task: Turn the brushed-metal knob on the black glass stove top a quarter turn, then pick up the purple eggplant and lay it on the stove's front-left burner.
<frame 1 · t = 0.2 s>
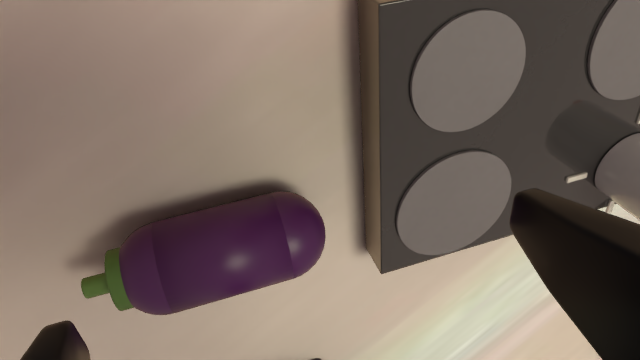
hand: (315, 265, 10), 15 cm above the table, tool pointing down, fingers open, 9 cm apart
burners: (547, 124, 26), on the stove, point 3 cm above the table
stove: (521, 103, 28), on the table
eggplant: (218, 223, 26), on the table
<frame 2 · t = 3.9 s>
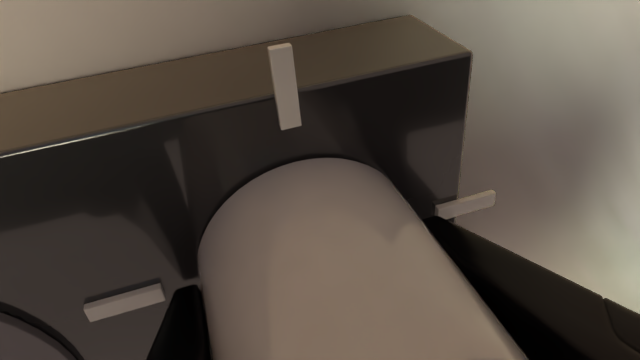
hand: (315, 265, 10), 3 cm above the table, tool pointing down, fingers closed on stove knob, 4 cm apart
stove knob: (348, 344, 8), point 5 cm above the table, hinge at 0.0°, touching gripper
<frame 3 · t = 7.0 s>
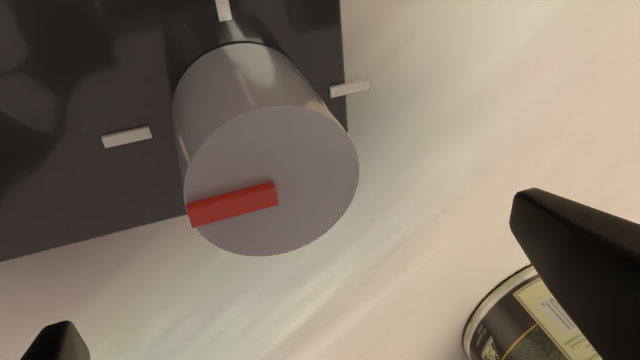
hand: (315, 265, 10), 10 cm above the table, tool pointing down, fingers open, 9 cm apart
stove knob: (258, 147, 14), point 5 cm above the table, hinge at 90.8°
coffee can: (528, 310, 33), on the table
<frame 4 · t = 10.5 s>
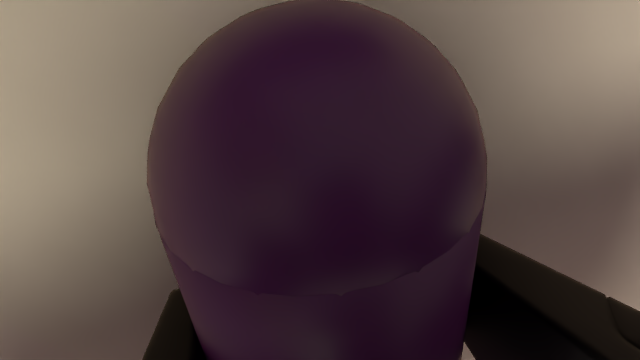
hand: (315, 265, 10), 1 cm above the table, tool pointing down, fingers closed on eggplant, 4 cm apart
eggplant: (297, 227, 10), on the table, touching gripper
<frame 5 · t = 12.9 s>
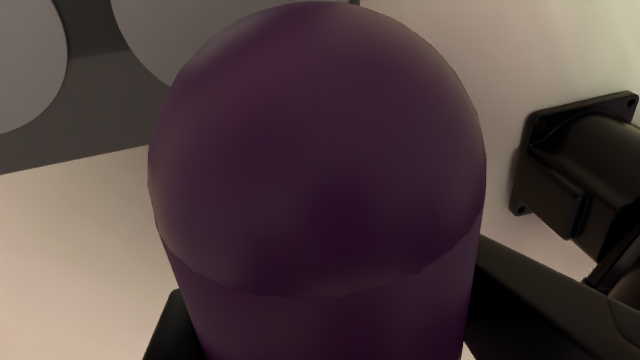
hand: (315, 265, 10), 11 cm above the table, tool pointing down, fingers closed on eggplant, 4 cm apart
eggplant: (297, 228, 11), point 10 cm above the table, touching gripper
when the fingers open (4 cm above the table, at t = 15.4 s): eggplant stays where it is, resting on burners.
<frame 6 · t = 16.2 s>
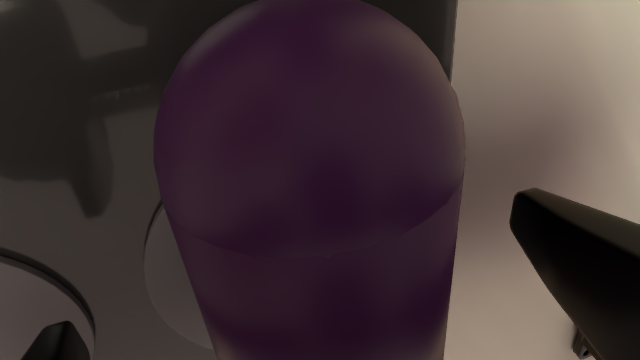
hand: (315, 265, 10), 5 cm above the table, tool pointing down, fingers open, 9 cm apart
burners: (34, 94, 8), on the stove, point 3 cm above the table
stove: (50, 32, 10), on the table
eggplant: (294, 212, 11), point 3 cm above the table, touching burners
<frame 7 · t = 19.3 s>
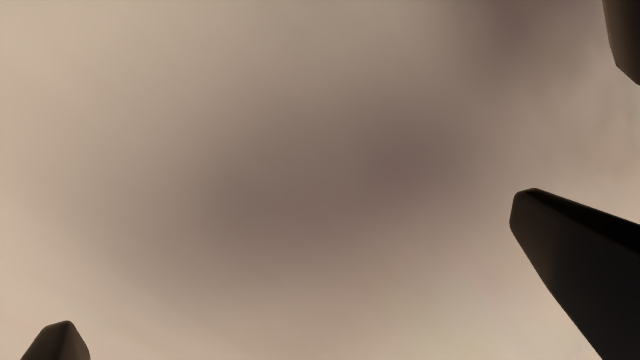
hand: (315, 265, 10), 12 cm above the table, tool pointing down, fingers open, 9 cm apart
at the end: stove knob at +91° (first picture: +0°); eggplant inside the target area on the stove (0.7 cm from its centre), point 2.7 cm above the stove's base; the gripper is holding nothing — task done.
